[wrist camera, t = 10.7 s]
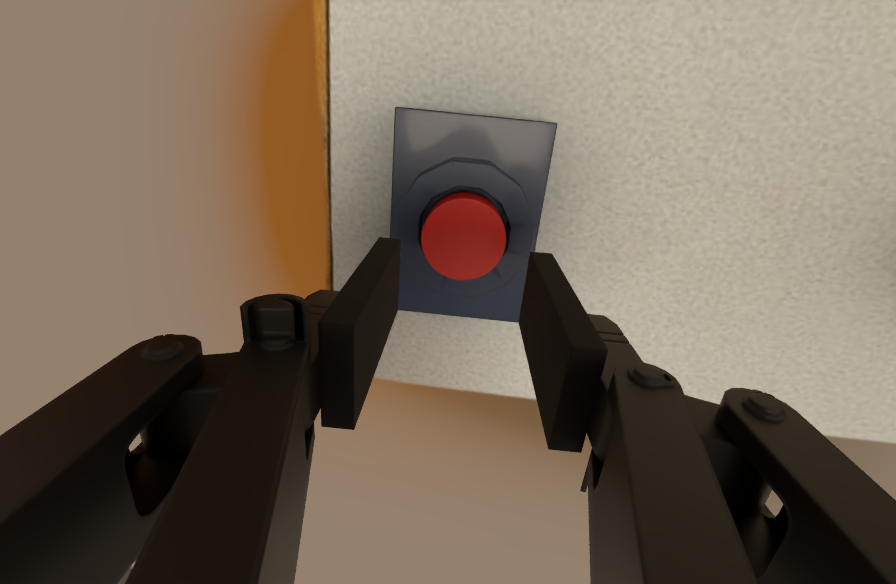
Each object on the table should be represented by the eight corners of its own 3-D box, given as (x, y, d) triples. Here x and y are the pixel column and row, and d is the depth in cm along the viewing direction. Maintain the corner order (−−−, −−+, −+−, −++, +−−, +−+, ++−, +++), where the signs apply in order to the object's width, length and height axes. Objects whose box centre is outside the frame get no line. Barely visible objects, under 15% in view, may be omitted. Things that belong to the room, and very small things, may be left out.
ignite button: (497, 272, 23) (499, 284, 21) (422, 264, 23) (418, 276, 21) (508, 195, 21) (512, 202, 19) (427, 187, 21) (424, 194, 19)
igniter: (518, 307, 27) (525, 338, 23) (392, 294, 27) (381, 323, 24) (549, 122, 23) (565, 123, 19) (401, 107, 23) (388, 106, 19)
